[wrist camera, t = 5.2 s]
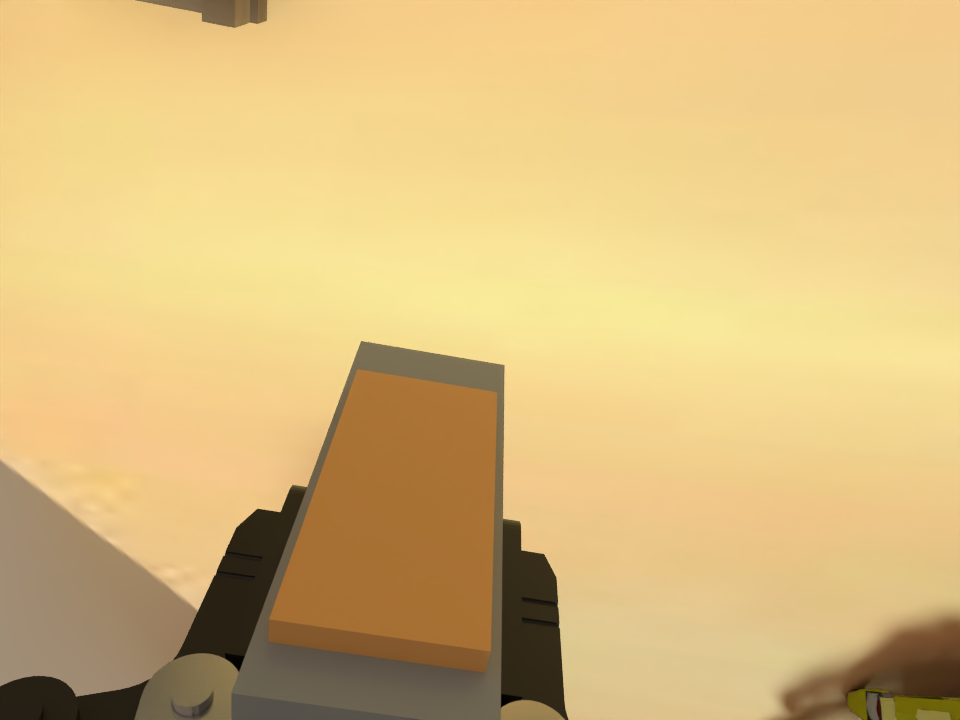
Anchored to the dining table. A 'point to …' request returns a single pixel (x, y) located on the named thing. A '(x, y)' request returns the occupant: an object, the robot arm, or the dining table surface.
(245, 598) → the robot arm
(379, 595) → the grey rectangular block
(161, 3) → the rail
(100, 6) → the dining table surface
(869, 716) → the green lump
